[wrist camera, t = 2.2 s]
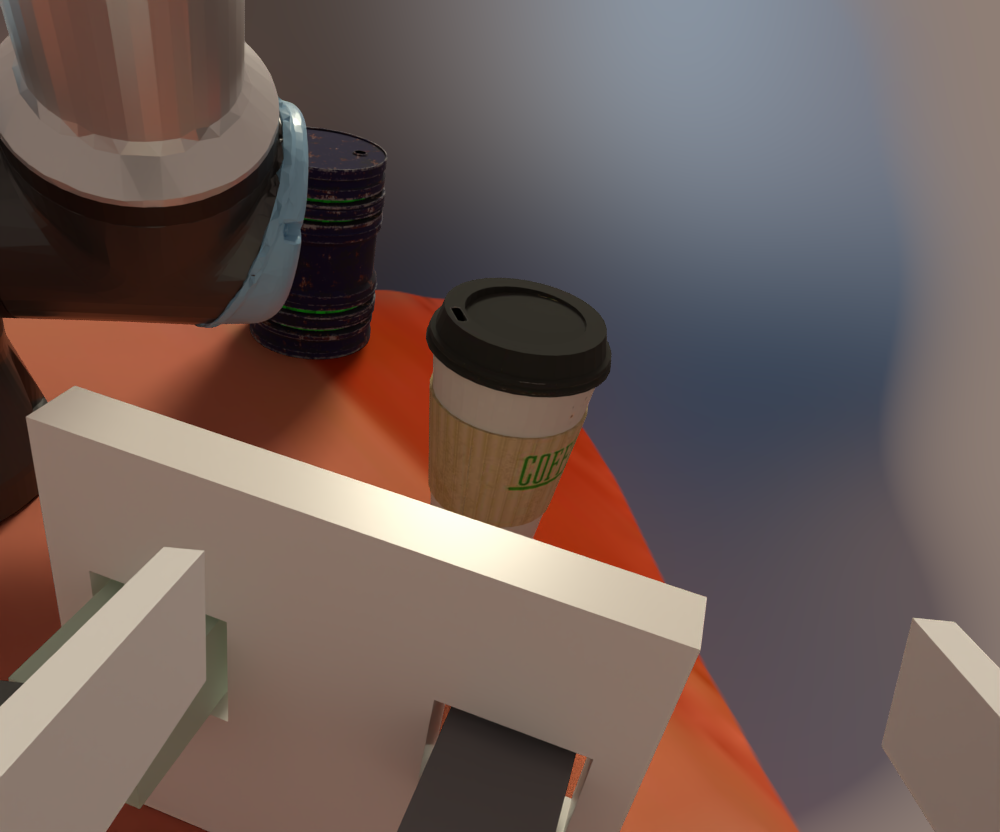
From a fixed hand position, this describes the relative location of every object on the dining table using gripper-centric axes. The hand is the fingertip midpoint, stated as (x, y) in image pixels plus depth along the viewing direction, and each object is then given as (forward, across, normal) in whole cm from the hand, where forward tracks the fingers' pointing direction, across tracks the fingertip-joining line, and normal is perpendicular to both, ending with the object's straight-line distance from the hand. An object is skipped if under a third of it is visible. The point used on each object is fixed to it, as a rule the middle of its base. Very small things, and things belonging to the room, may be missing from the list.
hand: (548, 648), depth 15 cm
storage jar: (+53, -18, -5) cm, 56 cm away
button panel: (+15, -7, -17) cm, 24 cm away
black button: (+8, -1, -12) cm, 14 cm away
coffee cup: (+33, -2, -12) cm, 35 cm away
